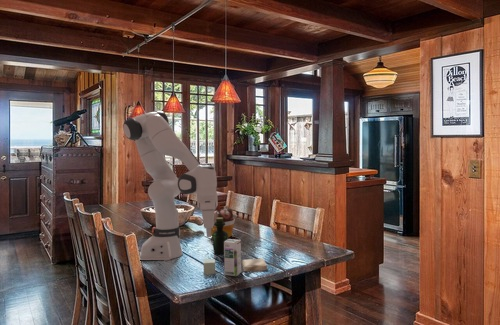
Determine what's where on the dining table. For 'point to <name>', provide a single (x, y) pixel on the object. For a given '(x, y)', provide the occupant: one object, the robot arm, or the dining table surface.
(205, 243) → the dining table surface
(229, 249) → the syrup box
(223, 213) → the bucket of meat
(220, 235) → the potion bottle
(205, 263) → the sage cube
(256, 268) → the maple board
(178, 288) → the dining table surface
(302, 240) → the dining table surface
